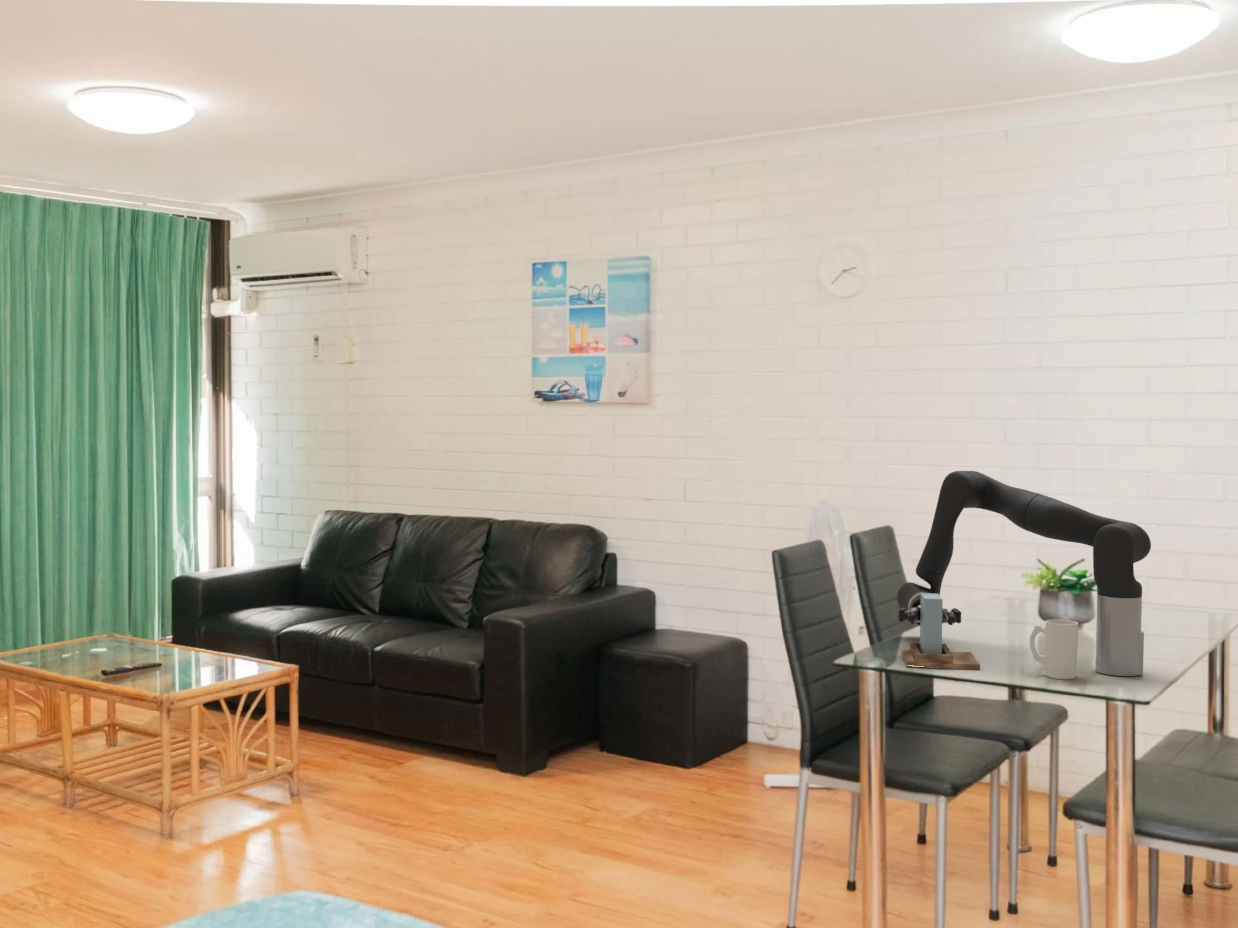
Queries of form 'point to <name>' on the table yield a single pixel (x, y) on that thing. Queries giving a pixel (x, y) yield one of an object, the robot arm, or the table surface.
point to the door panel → (931, 624)
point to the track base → (940, 658)
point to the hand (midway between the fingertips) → (932, 619)
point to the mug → (1058, 648)
